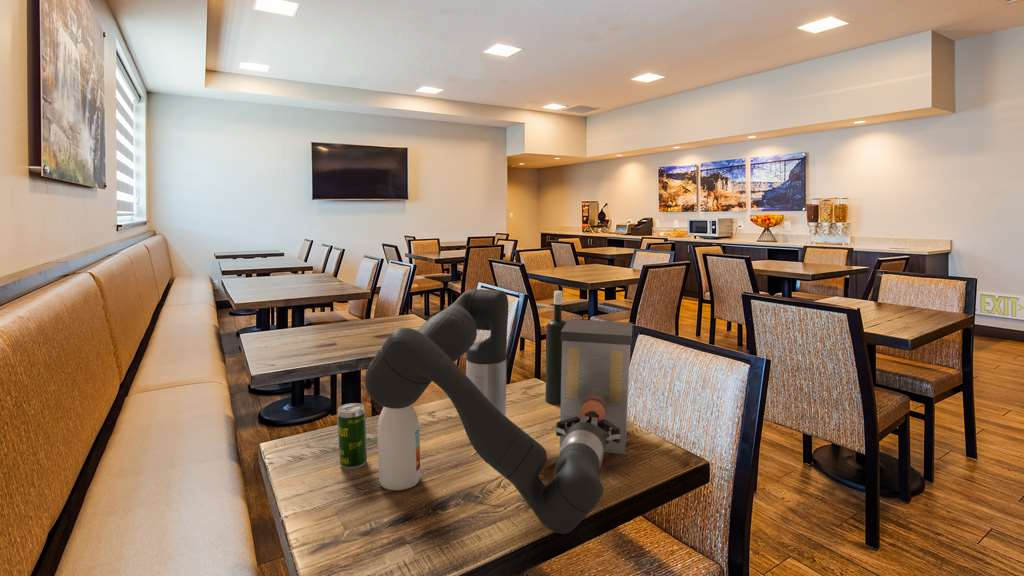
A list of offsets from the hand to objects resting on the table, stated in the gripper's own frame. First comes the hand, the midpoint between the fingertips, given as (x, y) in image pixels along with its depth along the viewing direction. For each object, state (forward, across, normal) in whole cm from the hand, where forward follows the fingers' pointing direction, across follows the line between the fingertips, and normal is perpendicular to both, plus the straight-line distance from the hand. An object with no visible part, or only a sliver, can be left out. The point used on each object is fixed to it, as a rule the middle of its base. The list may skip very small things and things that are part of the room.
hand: (592, 415), depth 113 cm
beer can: (-16, -46, -9) cm, 50 cm away
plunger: (+7, 0, -2) cm, 7 cm away
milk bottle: (-20, -34, -9) cm, 41 cm away
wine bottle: (+30, -13, -9) cm, 34 cm away
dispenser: (+8, 0, -9) cm, 12 cm away
